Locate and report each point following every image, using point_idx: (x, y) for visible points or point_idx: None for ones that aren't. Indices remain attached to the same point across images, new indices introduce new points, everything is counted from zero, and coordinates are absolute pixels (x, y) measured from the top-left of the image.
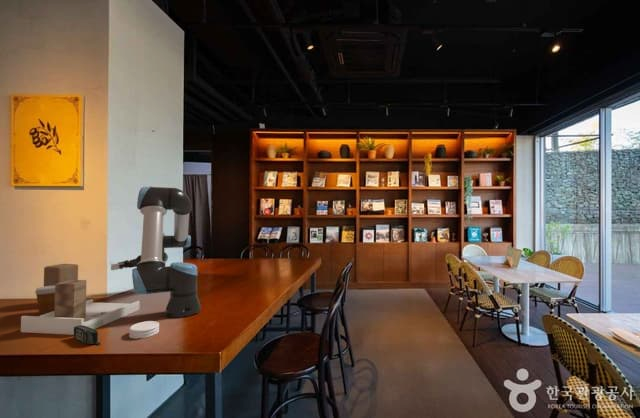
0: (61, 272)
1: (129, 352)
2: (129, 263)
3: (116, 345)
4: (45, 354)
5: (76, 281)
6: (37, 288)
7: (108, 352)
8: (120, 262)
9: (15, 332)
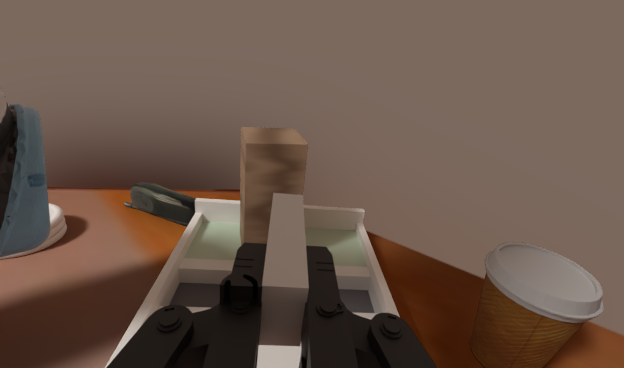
0: None
1: (53, 190)
2: (177, 312)
3: (87, 204)
4: (206, 190)
5: (263, 137)
6: (554, 253)
7: (95, 191)
8: (384, 341)
9: None
